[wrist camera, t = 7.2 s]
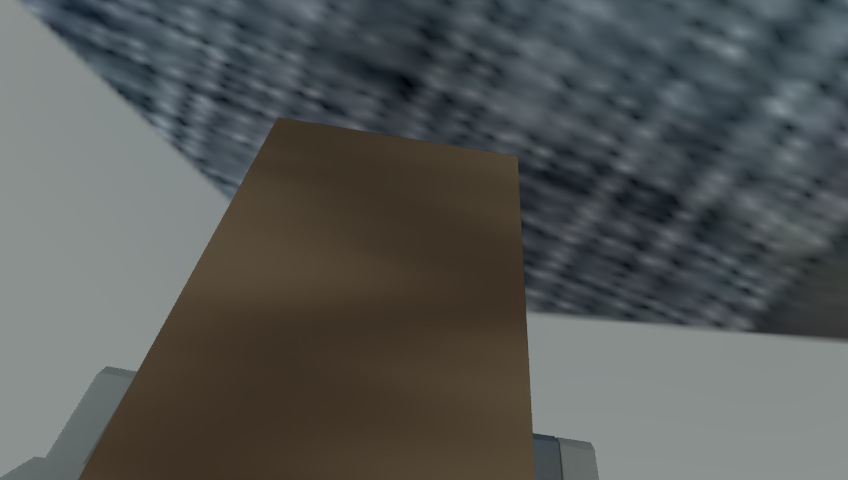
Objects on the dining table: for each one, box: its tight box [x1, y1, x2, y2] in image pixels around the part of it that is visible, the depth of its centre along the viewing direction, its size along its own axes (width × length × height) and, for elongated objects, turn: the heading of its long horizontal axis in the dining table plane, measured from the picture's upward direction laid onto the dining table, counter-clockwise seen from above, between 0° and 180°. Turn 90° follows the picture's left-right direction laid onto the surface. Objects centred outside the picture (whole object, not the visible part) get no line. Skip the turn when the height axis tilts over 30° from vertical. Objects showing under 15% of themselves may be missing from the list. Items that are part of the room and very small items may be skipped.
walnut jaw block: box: [78, 118, 535, 480], centre depth 10 cm, size 4×6×8 cm, turn 172°
